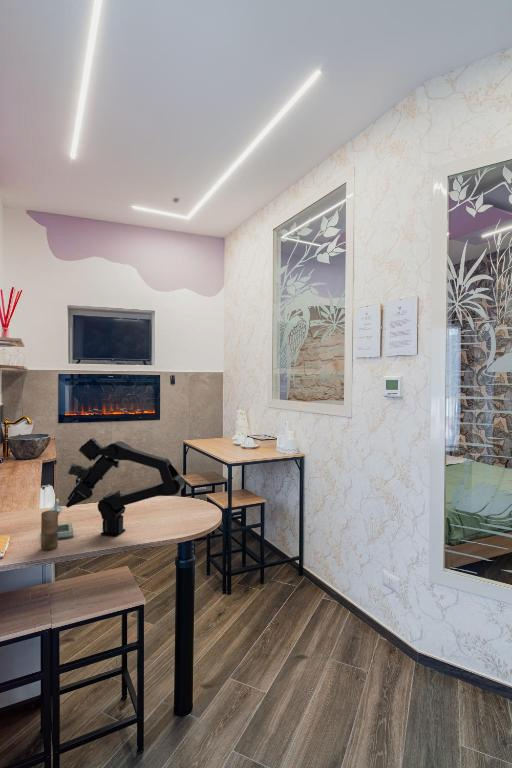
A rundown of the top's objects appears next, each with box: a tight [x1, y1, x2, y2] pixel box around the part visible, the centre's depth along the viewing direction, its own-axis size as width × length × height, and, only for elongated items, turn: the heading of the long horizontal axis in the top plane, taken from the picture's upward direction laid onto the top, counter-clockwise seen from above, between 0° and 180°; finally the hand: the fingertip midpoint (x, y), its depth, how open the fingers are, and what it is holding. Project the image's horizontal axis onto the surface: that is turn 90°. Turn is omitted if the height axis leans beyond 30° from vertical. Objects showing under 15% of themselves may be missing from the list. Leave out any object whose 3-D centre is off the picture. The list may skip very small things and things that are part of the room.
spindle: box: [40, 509, 59, 552], centre depth 144 cm, size 5×5×12 cm
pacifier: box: [49, 498, 63, 514], centre depth 177 cm, size 7×6×6 cm
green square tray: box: [58, 522, 74, 540], centre depth 156 cm, size 10×10×2 cm
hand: (67, 503), depth 154 cm, fingers open, 9 cm apart
